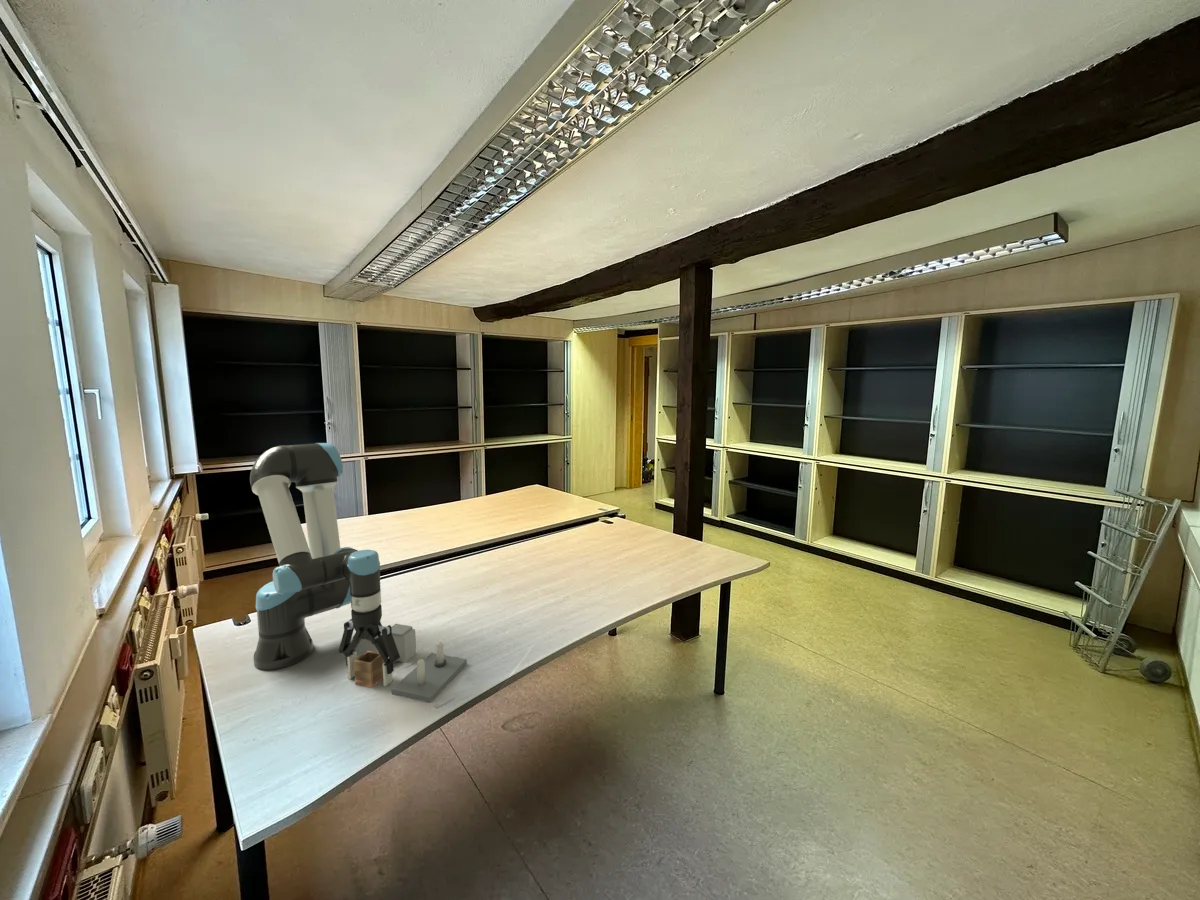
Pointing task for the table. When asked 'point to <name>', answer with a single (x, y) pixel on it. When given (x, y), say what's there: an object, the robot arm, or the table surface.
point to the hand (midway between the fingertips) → (370, 679)
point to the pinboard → (430, 676)
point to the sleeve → (368, 669)
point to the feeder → (404, 641)
